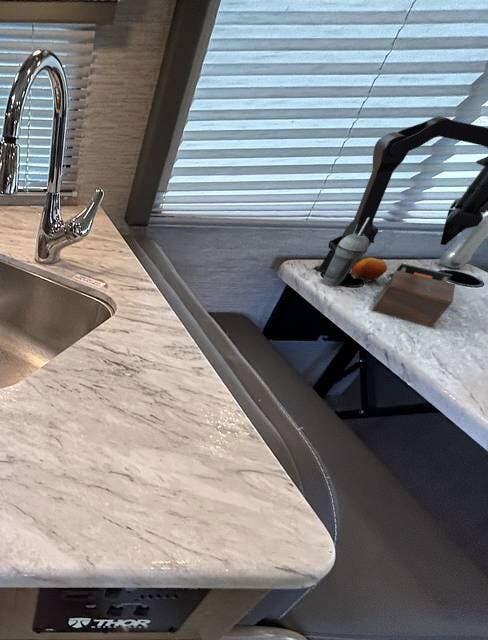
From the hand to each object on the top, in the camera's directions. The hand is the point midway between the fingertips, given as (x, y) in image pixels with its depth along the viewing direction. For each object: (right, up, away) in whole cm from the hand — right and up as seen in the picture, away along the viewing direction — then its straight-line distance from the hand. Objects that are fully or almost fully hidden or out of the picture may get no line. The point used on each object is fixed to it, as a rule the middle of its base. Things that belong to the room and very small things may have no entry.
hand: (443, 241), depth 115 cm
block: (-8, -14, +1) cm, 16 cm away
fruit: (-14, -9, +10) cm, 20 cm away
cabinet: (-17, -21, -4) cm, 27 cm away
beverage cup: (-26, -11, +9) cm, 30 cm away
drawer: (-8, -15, +2) cm, 16 cm away
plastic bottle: (+21, -3, +16) cm, 27 cm away
